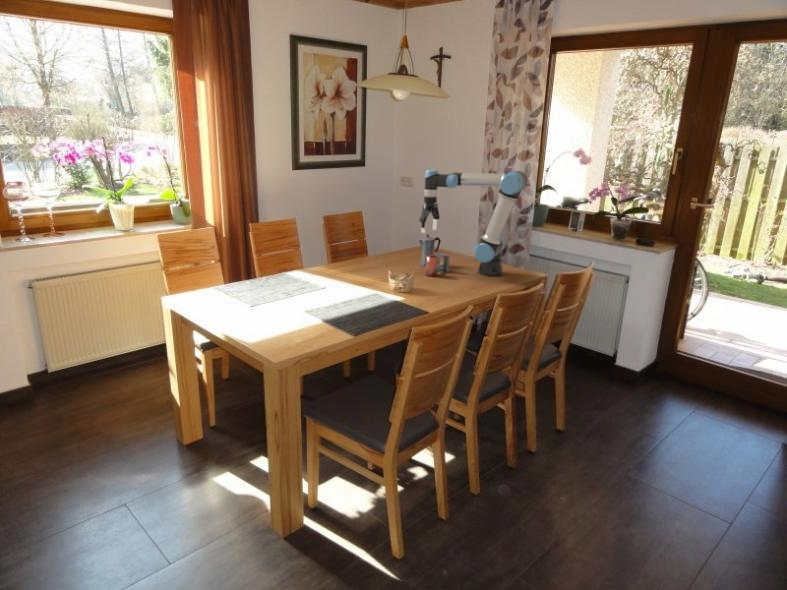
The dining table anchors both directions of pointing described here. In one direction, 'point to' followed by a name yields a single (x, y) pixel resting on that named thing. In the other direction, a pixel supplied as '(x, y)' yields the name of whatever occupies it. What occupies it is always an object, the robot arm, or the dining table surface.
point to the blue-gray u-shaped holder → (446, 263)
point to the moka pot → (427, 247)
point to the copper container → (432, 265)
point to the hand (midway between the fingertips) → (429, 231)
